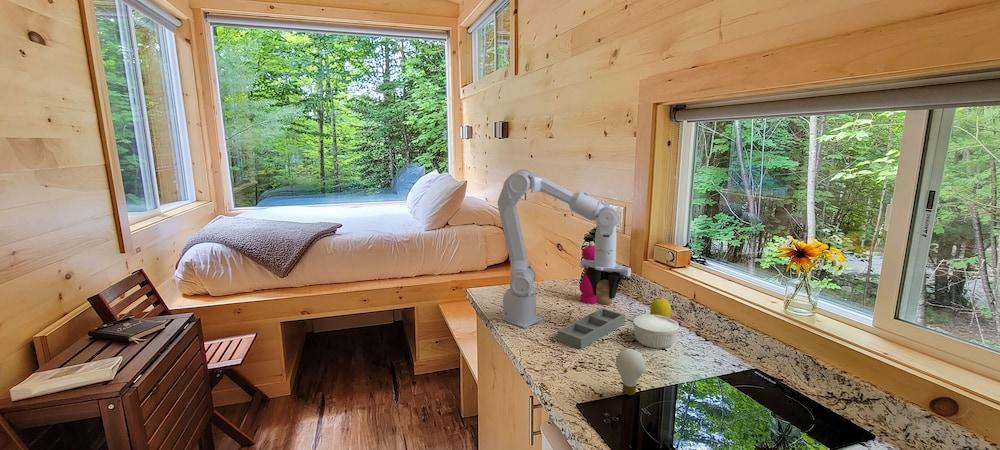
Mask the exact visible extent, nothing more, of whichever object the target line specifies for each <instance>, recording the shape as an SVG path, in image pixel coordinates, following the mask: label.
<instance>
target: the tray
mask: <svg viewBox="0 0 1000 450" xmlns="http://www.w3.org/2000/svg"><path fill="white" fill-rule="evenodd" d="M625 324H626V314H624V313H621V312H617V311H615V310H610V309H608V308H604V307H602V308H600V309H599V308H598V309H597V310H596V311H594V312H591V313H589V314H588V315H586V316H583V317H581V318H579V319H577V320H576V321H573V322H571V323H569V324H566V325H564V326H563V327H561V328H559V329H557V337H556V338H557V339H556V340H557V341H558V342H562V343H564V344H566V345H569V346H572V347H574V348H577V349H580V350H583V349H584V348H586V347H588V346H589V345H591V344H593V343H594V342H596V341H598V340H599V339H601V338H604V337H605V336H606V335H608V334H611V332H614V331H616V330H617V329H619V328H620V327H622V326H624V325H625Z"/></svg>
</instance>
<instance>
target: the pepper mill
mask: <svg viewBox="0 0 1000 450" xmlns="http://www.w3.org/2000/svg"><path fill="white" fill-rule="evenodd" d="M581 256H582V259H583V260H584V259H585V260H594V261H595V241H591V240H590V241H589V242H588V246H587V245H586V246H584V248H583V249H582V251H581ZM587 270H588V268H586V267H584V273H583V275H582V276H583V277H582V278H581V281H580V282H579V283H580V284H579V287H578V288H579V291H580V293H581V294H580V301H581V302H582V303H584V304H590V305H595V304H597V303H596V295H594V293H593V289H592V285H591V282H590V280H589V278H588V276H587V275H586V271H587Z"/></svg>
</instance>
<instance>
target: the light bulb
mask: <svg viewBox="0 0 1000 450" xmlns="http://www.w3.org/2000/svg"><path fill="white" fill-rule="evenodd" d="M615 367H616V370H617V372H618V374H619V375H620V377H621V381H622V392H623V393H624V394H626V395H627V396H632V395H635V394H636V393H637V385H638V382H639V379H640V378H641V376H642V375H643V374H644V373H645V369H646V361H645V358H644V356H643V355H642V353H640V352H639V351H637V350H636V349H632V348H627V349H624V350H622V351H620V352H619V353H618V354H617V356H616V359H615Z"/></svg>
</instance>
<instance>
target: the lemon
mask: <svg viewBox="0 0 1000 450" xmlns="http://www.w3.org/2000/svg"><path fill="white" fill-rule="evenodd" d="M649 313H650V315H660V316H664V317H667V318H670V319H671V315H672V307H671V304H670V302H669V301H668V300H667V299H665V298H664V297H663V296H662V297H661V296H660V297H658V298H655V299H654V300H653V301H652V303H651V306H650V312H649Z"/></svg>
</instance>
